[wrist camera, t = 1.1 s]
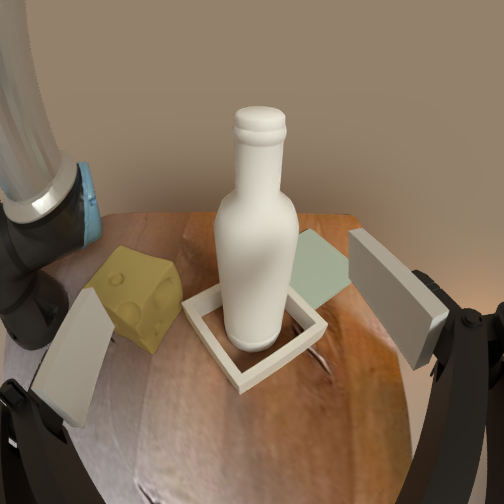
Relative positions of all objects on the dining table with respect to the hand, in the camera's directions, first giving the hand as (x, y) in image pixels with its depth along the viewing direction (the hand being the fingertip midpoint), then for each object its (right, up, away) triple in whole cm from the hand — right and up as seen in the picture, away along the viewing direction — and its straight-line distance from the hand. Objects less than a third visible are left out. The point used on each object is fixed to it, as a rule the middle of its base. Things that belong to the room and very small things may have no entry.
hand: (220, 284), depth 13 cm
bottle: (+2, -10, +26) cm, 28 cm away
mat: (+12, -1, +34) cm, 36 cm away
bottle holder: (+2, -10, +26) cm, 28 cm away
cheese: (-15, -9, +27) cm, 32 cm away
